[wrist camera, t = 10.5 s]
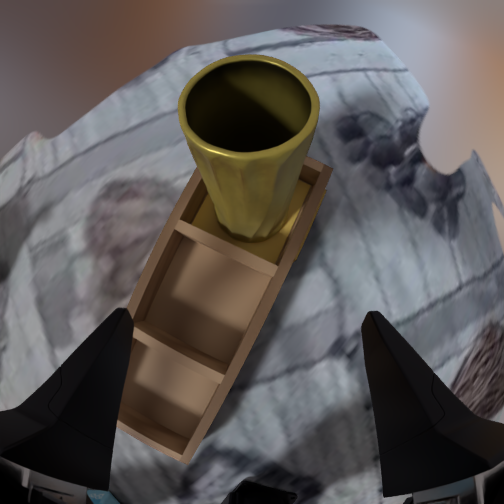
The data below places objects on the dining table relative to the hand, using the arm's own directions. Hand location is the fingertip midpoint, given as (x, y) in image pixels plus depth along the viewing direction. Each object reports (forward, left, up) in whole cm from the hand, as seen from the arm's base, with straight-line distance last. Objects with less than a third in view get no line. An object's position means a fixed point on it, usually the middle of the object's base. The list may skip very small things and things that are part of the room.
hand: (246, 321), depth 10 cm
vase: (+3, -7, -13) cm, 15 cm away
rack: (+3, +2, -13) cm, 14 cm away
